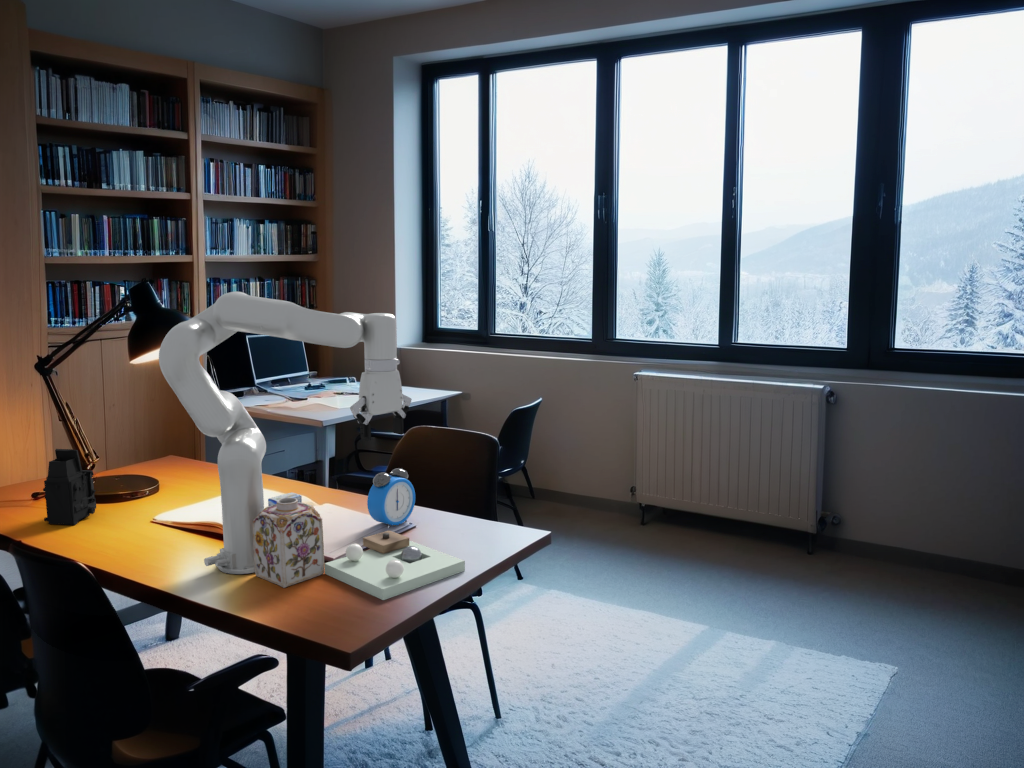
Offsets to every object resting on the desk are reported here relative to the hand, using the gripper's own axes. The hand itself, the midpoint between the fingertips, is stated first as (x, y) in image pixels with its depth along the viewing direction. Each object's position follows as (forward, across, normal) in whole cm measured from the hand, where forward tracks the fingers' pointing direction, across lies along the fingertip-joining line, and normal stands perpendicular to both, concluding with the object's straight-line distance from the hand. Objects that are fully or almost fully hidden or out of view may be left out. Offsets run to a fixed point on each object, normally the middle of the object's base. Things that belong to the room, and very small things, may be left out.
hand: (382, 436), depth 205 cm
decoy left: (+26, +10, +2) cm, 28 cm away
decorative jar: (+31, +22, -7) cm, 38 cm away
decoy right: (+26, +10, +16) cm, 32 cm away
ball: (+28, -1, +9) cm, 29 cm away
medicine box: (+31, +4, -38) cm, 49 cm away
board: (+30, +4, +9) cm, 32 cm away
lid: (+28, -1, -1) cm, 28 cm away
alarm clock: (+31, -18, -20) cm, 41 cm away
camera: (+31, +41, -87) cm, 101 cm away
